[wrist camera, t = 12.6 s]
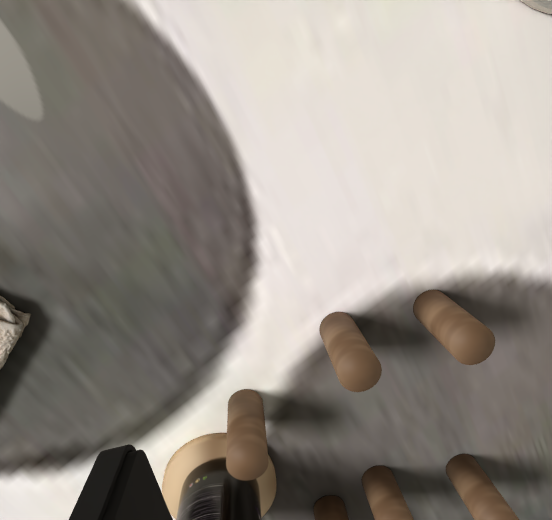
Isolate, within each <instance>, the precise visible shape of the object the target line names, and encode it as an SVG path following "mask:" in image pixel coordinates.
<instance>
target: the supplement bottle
mask: <svg viewBox="0 0 552 520" xmlns="http://www.w3.org/2000/svg"><path fill="white" fill-rule="evenodd" d="M176 520H262V519H261V503H260V491H259V485H258V481H257V479H254V480H248V481H244V480H239V479H236V478H234V477H233V476H232V475H231V474H230V473H229V472H228V470H227V467H226V459H215V460H211V461H207V462H205V463H203V464H201V465H199V466H197V467H196V468H195V469H194V470H192V471H191V472H190V473H189V475H188V476H187V478H186V479H185V481H184V483H183V486H182V490H181V495H180V500H179V506H178V512H177V518H176Z"/></svg>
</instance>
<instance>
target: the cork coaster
mask: <svg viewBox="0 0 552 520" xmlns="http://www.w3.org/2000/svg"><path fill="white" fill-rule="evenodd" d="M226 449H227V433H215V434H208V435H204V436H201V437H198V438H196V439H193V440H191V441H190V442H188V443H186V444H185V445H183V446H182V447H181V448H180V449H178V450H177V451H176V452H175V454H174V455H173V456H172V457H171V459H170V461H169V462H168V464H167V467H166V470H165V474H164V479H163V483H162V495H163V497H164V500H165V502H166V505H167V507H168V510H169V512H170V514H171V515H172V516H173V517H174V518H175V519H176V518H177V512H178V506H179V500H180V495H181V490H182V486H183V483H184V481H185V479H186V478H187V476H188V475H189V473H190V472H191V471H192V470H194V469H195V468H196V467H197V466H199V465H201V464H203V463H205V462H207V461H211V460H215V459H226ZM268 461H269V463H268V467H267V470H266V471H265V472H264V474H263V475H261V476H260V477H258V478H256V479H257V481H258V485H259V491H260V503H261V517H263V516H264V515H265V513H266V512H267V511H268V510H269V508H270V506H271V505H272V503H273V501H274V498H275V494H276V488H277V487H276V474H275V468H274V465H273V462H272V460H271V458H270V456H269V455H268Z"/></svg>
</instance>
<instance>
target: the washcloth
mask: <svg viewBox="0 0 552 520" xmlns="http://www.w3.org/2000/svg"><path fill="white" fill-rule="evenodd" d="M30 316H31V314H30V313H23V312H21V311H17V310H15V307H14V306H13V305H11V304H10V303H9V302H8V301H7V300H6V299H5V298H4V297H2V296H0V370H1V368H2V367H3V365H4V364H5V362H6V359H7V358H8V355H9V353H10V352H11V351H12V349H13V347H14V346H15V344H16V342H17V340H18V339H19V337H21V336H22V332H23V330H24V328H25V326H27V325H28V323H29V318H30Z"/></svg>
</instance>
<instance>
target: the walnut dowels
mask: <svg viewBox="0 0 552 520" xmlns="http://www.w3.org/2000/svg"><path fill="white" fill-rule="evenodd" d="M413 312H414V315H415V317H416V318H417V319H418V320H419V321H420V322H421V323H422V324H423V325H424V326H425V327H426V328H427V329H428V330H429V331H430V333H431V334H432V335H433V336H434V337H435V338H436V339H437V340H438V341H439V342H440V343H441V344H442V345H443V346H444V347H445V348H446V349H447V350H448V351H449V352H450V353H451V354H452V355H453V356H454V357H455V358H456V359H457V360H458V361H459V362H461V363H463V364H466V365H474V364H478V363H481V362H482V361H484V360H486V359H487V358H488V357H489V356H490V354H491V353H492V351H493V349H494V346H495V337H494V335H493V333H492V331H491V330H490V329H489V328H487V327H486V326H485V325H483V324H482V323H481V322H480V321H478V320H477V319H476V318H474V317H473V316H472V315H471V314H469V313H468V312H467V311H465V310H464V309H463V308H462V307H460V306H459V305H458V304H456V303H455V302H454V301H453V300H451V299H450V298H449V297H447V296H446V295H445V294H443V293H442V292H440V291H438V290H428V291H425V292H423V293H422V294H420V295H419V296H418V297H417V299H416V300H415V302H414V306H413ZM320 335H321V337H322V340H323V342H324V345H325V347H326V350H327V352H328V354H329V357H330V359H331V362H332V364H333V367H334V369H335V371H336V374H337V376H338V379H339V381H340V383H341V384H342V386H343V387H345V388H346V389H348V390H350V391H353V392H362V391H366V390H368V389H370V388H372V387H373V386H374V385H375V384H376V383H377V382H378V380H379V379H380V376H381V371H382V369H381V364H380V362H379V360H378V359H377V357H376V356H375V354H374V352H373V351H372V349H371V348H370V346H369V344H368V343H367V341H366V340H365V338H364V336H363V335H362V333H361V331H360V330H359V328H358V327H357V325H356V323H355V322H354V320H353V319H352V317H351V316H349V315H348V314H346V313H343V312H334V313H331V314H329V315H328V316H326V317H325V318H324V319H323V321H322V322H321V325H320ZM268 463H269V461H268V450H267V439H266V429H265V418H264V407H263V400H262V398H261V396H260V395H259V394H258V393H257V392H255V391H253V390H248V389H244V390H240V391H237V392H236V393H234V394H233V395H232V396H231V397H230V399H229V402H228V421H227V449H226V467H227V470H228V472H229V473H230V474H231V475H232V476H233V477H234V478H236V479H239V480H244V481H248V480H254V479H256V478H258V477H260V476H261V475H263V474H264V472H265V471H266V470H267V467H268ZM446 474H447V475H448V477H449V479H450V480H451V482H452V484H453V485H454V487H455V488H456V490H457V492H458V493H459V495H460V497H461V498H462V500H463V501H464V503H465V505H466V506H467V508H468V510H469V511H470V513H471V515H472V516H473V518H474V519H475V520H519V519H518V517H517V516H516V515H515V513H514V512H513V511H512V509H511V508H510V506H509V505H508V504H507V502H506V501H505V500H504V498H503V497H502V495H501V494H500V493H499V491H498V490H497V489H496V487H495V486H494V484H493V483H492V482H491V480H490V479H489V478H488V476H487V475H486V474H485V472H484V471H483V469H482V468H481V467H480V465H479V464H478V463H477V461H476V460H475V459H474V457H472V456H471V455H468V454H460V455H457V456H455V457H453V458H452V459H451V460H450V461H449V462H448V464H447V466H446ZM362 485H363V488H364V491H365V493H366V496H367V499H368V502H369V505H370V507H371V510H372V513H373V516H374V519H375V520H414V519H413V517H412V515H411V513H410V511H409V508H408V506H407V504H406V502H405V500H404V497H403V495H402V493H401V491H400V489H399V486H398V484H397V482H396V480H395V478H394V475H393V473H392V471H391V470H390V469H389V468H387V467H385V466H374V467H371V468H369V469H368V470H367V471H366V472H365V473H364V474H363V476H362ZM314 516H315V520H349V518H348V515H347V511H346V508H345V504H344V502H343V500H342V499H341V498H339V497H337V496H333V495H329V496H324V497H322V498H320V499H319V500H318V501H317V502H316V503H315V505H314Z"/></svg>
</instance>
